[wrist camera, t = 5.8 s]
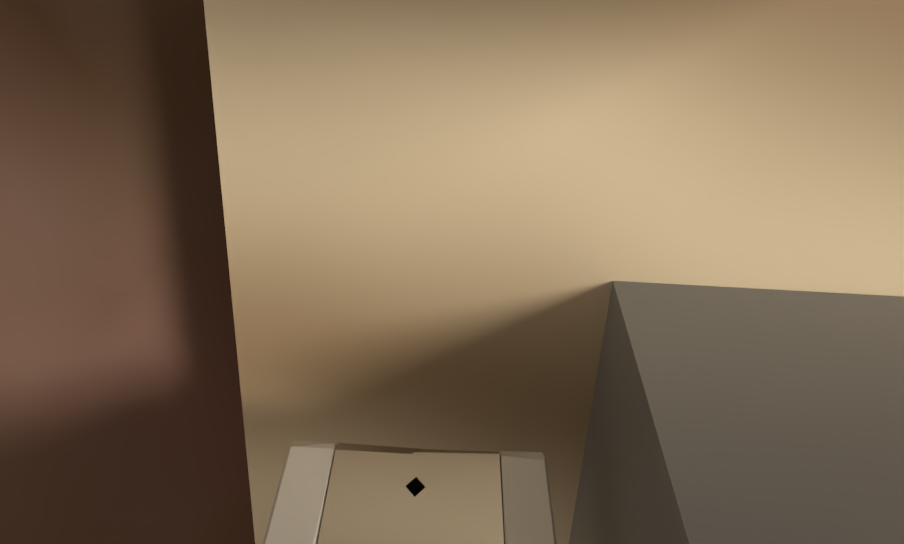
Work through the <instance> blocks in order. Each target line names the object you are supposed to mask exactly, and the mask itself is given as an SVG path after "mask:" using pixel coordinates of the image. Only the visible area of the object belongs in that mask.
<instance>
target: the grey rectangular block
mask: <svg viewBox="0 0 904 544" xmlns="http://www.w3.org/2000/svg"><path fill="white" fill-rule="evenodd" d="M569 544H904V297H901V296H883V295H865V294H846V293H828V292H810V291H791V290H773V289H755V288H737V287H718V286H700V285H682V284H663V283H645V282H627V281H613V283H612V289H611V295H610V301H609V306H608V312H607V318H606V324H605V330H604V336H603V342H602V348H601V354H600V360H599V366H598V372H597V378H596V384H595V390H594V396H593V402H592V408H591V414H590V420H589V426H588V432H587V438H586V444H585V450H584V456H583V462H582V468H581V474H580V480H579V486H578V492H577V498H576V504H575V510H574V516H573V522H572V528H571V534H570V540H569Z"/></svg>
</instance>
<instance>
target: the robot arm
mask: <svg viewBox="0 0 904 544" xmlns="http://www.w3.org/2000/svg"><path fill="white" fill-rule="evenodd" d="M263 544H557V541H556V533H555V525H554V518H553V510H552V502H551V494H550V486H549V478H548V470H547V462H546V457H545V456H544V455H543V453H542V452H517V451H500V452H499V453H498V452H492V451H467V450H443V449H419V448H405V447H391V446H377V445H363V444H349V443H338V444H335V443H323V442H309V441H295V440H294V441H293V443H292V444H291V446H290V447H289V449H288V451H287V455H286V458H285V462H284V466H283V470H282V473H281V477H280V481H279V484H278V488H277V492H276V496H275V499H274V503H273V507H272V510H271V514H270V518H269V522H268V525H267V529H266V533H265V536H264V540H263Z"/></svg>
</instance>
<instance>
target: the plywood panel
mask: <svg viewBox="0 0 904 544" xmlns="http://www.w3.org/2000/svg"><path fill="white" fill-rule="evenodd" d="M203 2H204V12H205V23H206V33H207V44H208V54H209V64H210V75H211V85H212V96H213V106H214V117H215V127H216V138H217V148H218V159H219V169H220V180H221V190H222V201H223V211H224V222H225V232H226V243H227V253H228V264H229V274H230V285H231V295H232V306H233V316H234V327H235V337H236V348H237V358H238V369H239V379H240V390H241V400H242V411H243V421H244V432H245V442H246V453H247V463H248V474H249V484H250V495H251V505H252V516H253V526H254V537H255V544H263V540H264V536H265V533H266V529H267V525H268V522H269V518H270V514H271V510H272V507H273V503H274V499H275V496H276V492H277V488H278V484H279V481H280V477H281V473H282V470H283V466H284V462H285V458H286V455H287V451H288V449H289V447H290V446H291V444H292V443H293V441H294V440H295V441H309V442H323V443H335V444H338V443H349V444H363V445H377V446H391V447H405V448H419V449H443V450H467V451H492V452H498V453H499V452H500V451H517V452H542V453H543V455H544V456H545V457H546V462H547V470H548V478H549V486H550V494H551V502H552V510H553V518H554V525H555V533H556V541H557V544H569V540H570V534H571V528H572V522H573V516H574V510H575V504H576V498H577V492H578V486H579V480H580V474H581V468H582V462H583V456H584V450H585V444H586V438H587V432H588V426H589V420H590V414H591V408H592V402H593V396H594V390H595V384H596V378H597V372H598V366H599V360H600V354H601V348H602V342H603V336H604V330H605V324H606V318H607V312H608V306H609V301H610V295H611V289H612V283H613V281H627V282H645V283H663V284H682V285H700V286H718V287H737V288H755V289H773V290H791V291H810V292H828V293H846V294H865V295H883V296H901V297H904V0H203Z"/></svg>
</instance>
